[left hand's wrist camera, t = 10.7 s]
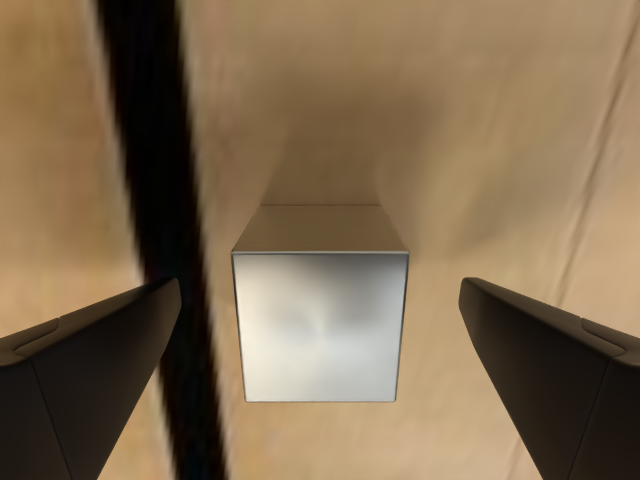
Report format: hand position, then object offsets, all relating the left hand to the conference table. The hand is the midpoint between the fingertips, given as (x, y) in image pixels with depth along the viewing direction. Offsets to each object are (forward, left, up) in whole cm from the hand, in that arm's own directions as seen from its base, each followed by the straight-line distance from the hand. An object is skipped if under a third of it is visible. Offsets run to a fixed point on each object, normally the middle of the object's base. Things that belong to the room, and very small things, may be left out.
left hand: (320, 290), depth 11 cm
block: (0, 0, -2) cm, 2 cm away
